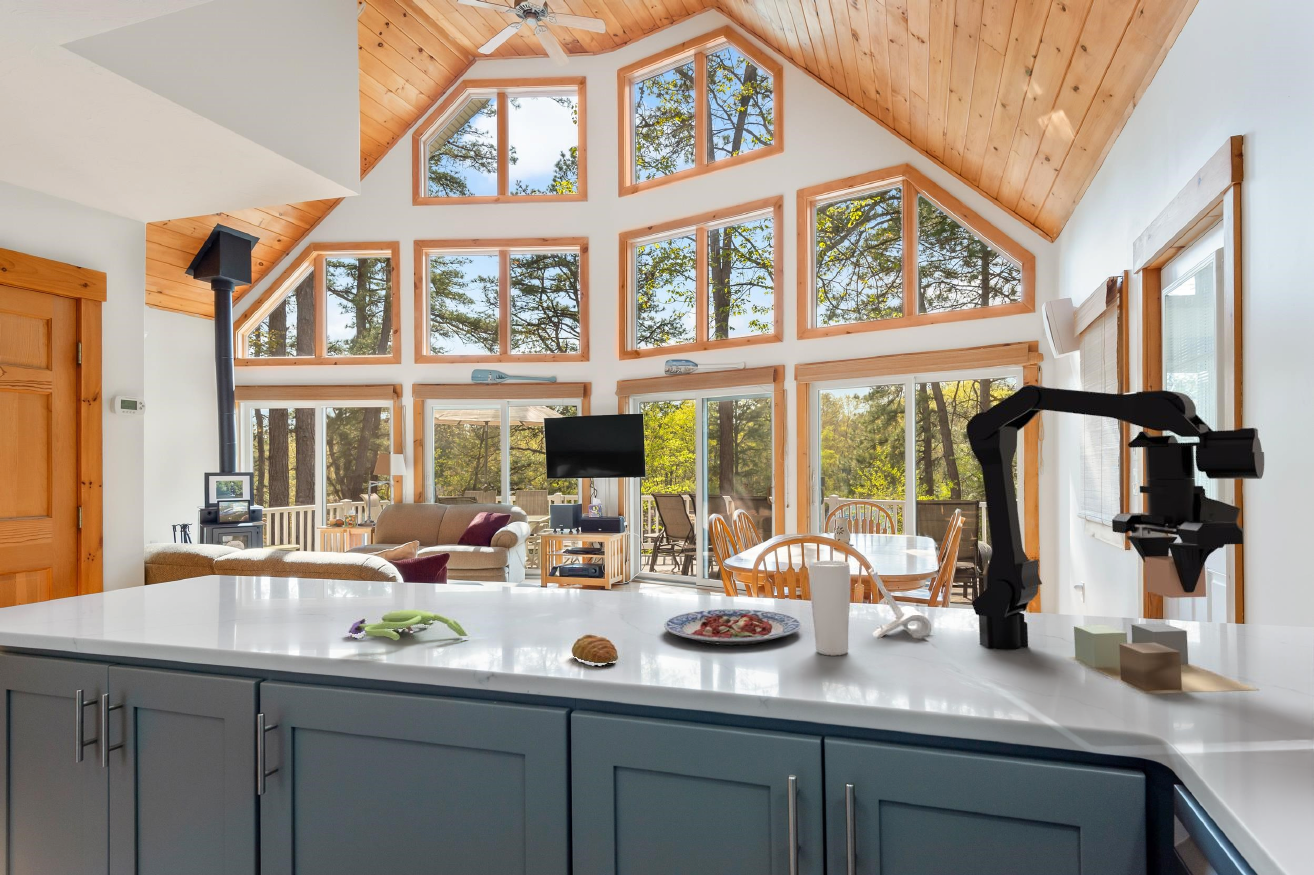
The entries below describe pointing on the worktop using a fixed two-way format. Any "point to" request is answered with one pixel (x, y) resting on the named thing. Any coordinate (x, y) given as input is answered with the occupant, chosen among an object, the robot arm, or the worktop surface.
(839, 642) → the drinking glass
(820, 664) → the worktop surface
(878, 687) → the worktop surface
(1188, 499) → the robot arm
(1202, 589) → the terracotta block
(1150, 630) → the grey block
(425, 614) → the figurine
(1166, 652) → the walnut block
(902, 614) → the plastic part
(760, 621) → the ceramic plate
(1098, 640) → the sage block
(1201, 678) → the oak board
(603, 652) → the pastry
